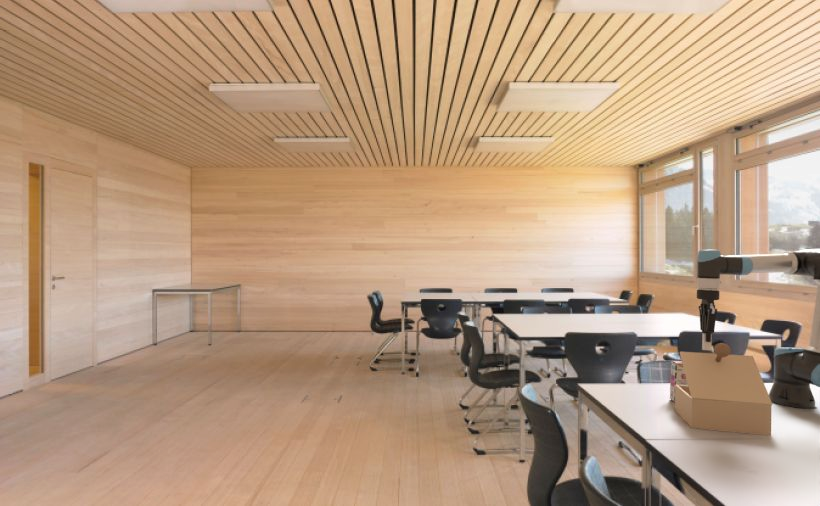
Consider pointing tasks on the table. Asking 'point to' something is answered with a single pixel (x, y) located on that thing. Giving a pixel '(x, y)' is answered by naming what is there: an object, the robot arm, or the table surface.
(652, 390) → the table surface
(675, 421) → the table surface
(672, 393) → the candy bar box
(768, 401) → the wooden lid with knob
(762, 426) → the wooden box
